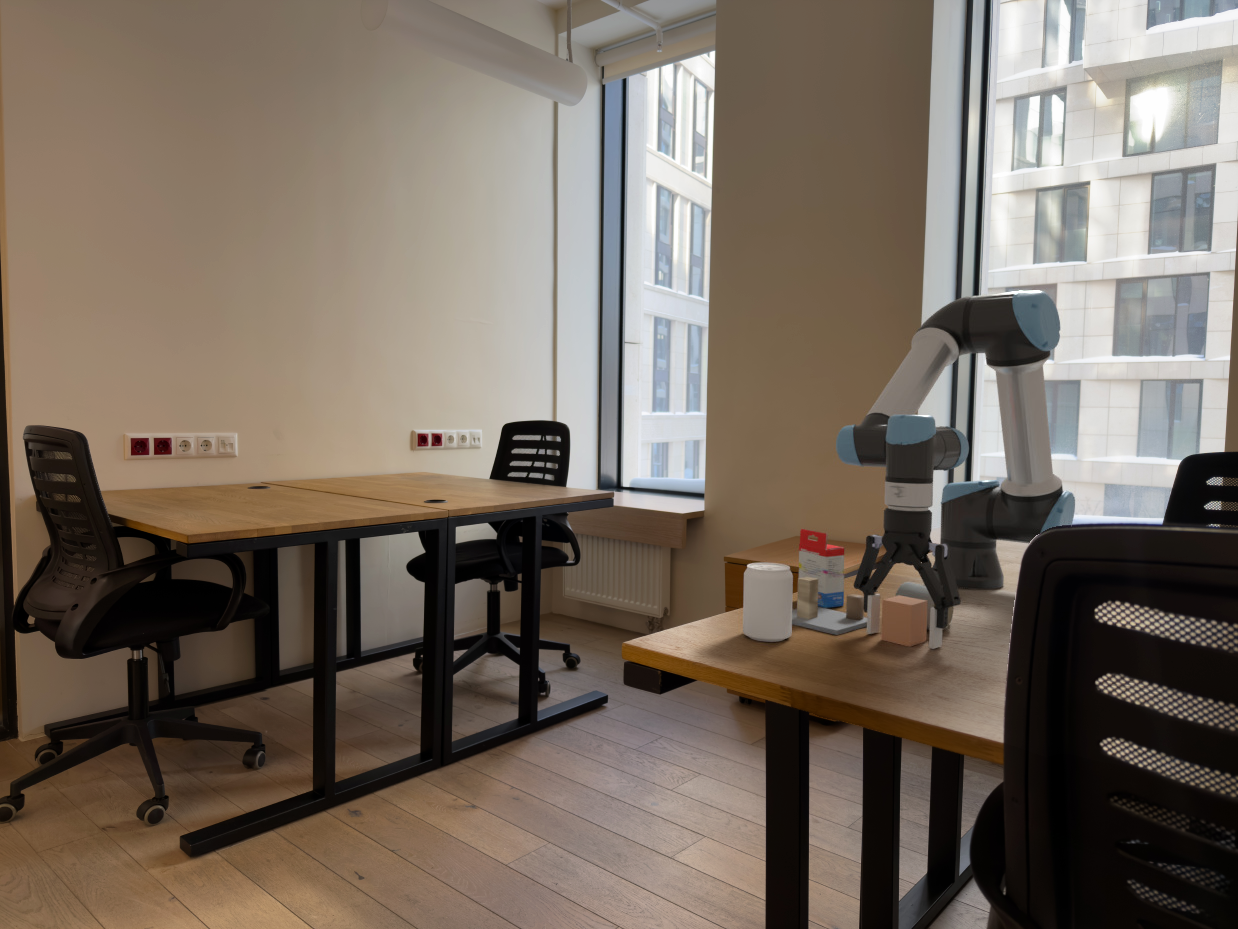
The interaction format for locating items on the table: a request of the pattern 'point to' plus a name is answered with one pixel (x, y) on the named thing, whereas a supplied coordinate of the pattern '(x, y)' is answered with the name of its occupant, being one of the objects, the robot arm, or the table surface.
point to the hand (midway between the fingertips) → (903, 639)
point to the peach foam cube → (904, 620)
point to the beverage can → (767, 602)
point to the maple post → (807, 598)
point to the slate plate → (836, 617)
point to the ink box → (823, 567)
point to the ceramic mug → (921, 593)
